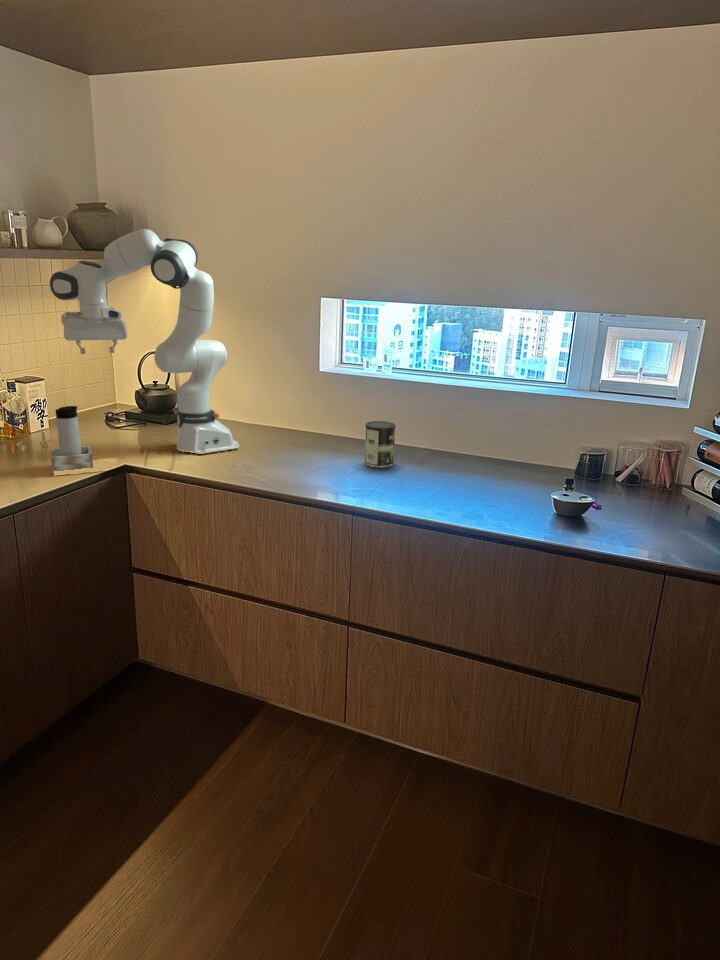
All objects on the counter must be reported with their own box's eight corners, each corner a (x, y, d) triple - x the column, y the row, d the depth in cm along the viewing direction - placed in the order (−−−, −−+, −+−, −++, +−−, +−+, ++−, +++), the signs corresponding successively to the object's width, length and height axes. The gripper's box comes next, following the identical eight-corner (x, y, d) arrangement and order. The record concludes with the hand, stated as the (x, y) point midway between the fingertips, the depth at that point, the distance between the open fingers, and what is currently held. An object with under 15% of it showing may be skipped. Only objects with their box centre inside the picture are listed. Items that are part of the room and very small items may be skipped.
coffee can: (395, 460, 239) (397, 422, 235) (391, 469, 229) (392, 428, 225) (367, 458, 241) (368, 419, 236) (361, 466, 231) (362, 426, 227)
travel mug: (78, 470, 216) (71, 408, 209) (58, 469, 216) (51, 407, 210) (87, 464, 221) (80, 404, 215) (67, 463, 222) (60, 403, 215)
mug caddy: (117, 460, 230) (115, 443, 228) (120, 470, 220) (118, 452, 218) (53, 465, 222) (51, 448, 220) (53, 476, 212) (51, 458, 210)
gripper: (60, 313, 220) (65, 355, 225) (126, 312, 228) (129, 353, 233) (60, 310, 225) (64, 352, 230) (124, 310, 234) (127, 350, 238)
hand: (97, 353), depth 232 cm, fingers open, 8 cm apart
